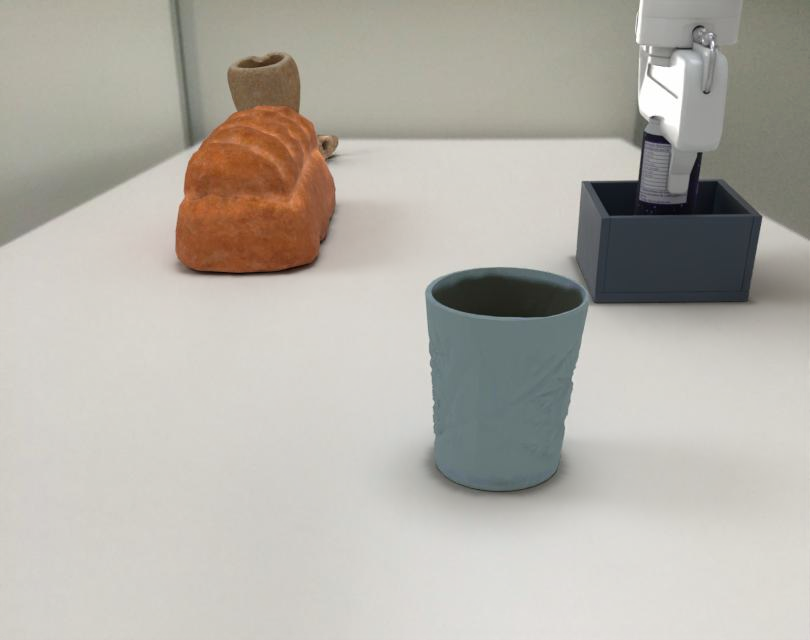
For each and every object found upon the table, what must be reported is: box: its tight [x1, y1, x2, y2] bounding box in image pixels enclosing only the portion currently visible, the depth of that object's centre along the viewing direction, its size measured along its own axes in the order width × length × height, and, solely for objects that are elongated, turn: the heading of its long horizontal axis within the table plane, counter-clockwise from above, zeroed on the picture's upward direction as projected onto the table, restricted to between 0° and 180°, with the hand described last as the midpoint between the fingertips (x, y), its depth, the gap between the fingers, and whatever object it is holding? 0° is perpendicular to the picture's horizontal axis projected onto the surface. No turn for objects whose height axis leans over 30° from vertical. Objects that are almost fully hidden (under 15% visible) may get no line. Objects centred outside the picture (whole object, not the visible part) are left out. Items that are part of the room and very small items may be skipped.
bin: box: [575, 178, 763, 304], centre depth 97 cm, size 15×15×8 cm
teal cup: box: [424, 266, 591, 492], centre depth 63 cm, size 10×10×12 cm
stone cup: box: [226, 51, 340, 160], centre depth 145 cm, size 15×12×15 cm
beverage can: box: [634, 115, 704, 216], centre depth 94 cm, size 6×6×12 cm
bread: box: [174, 106, 337, 274], centre depth 112 cm, size 16×31×13 cm, turn 178°
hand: (668, 183), depth 94 cm, fingers closed on beverage can, 5 cm apart
